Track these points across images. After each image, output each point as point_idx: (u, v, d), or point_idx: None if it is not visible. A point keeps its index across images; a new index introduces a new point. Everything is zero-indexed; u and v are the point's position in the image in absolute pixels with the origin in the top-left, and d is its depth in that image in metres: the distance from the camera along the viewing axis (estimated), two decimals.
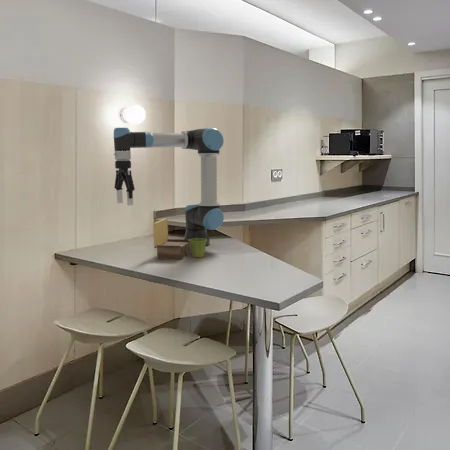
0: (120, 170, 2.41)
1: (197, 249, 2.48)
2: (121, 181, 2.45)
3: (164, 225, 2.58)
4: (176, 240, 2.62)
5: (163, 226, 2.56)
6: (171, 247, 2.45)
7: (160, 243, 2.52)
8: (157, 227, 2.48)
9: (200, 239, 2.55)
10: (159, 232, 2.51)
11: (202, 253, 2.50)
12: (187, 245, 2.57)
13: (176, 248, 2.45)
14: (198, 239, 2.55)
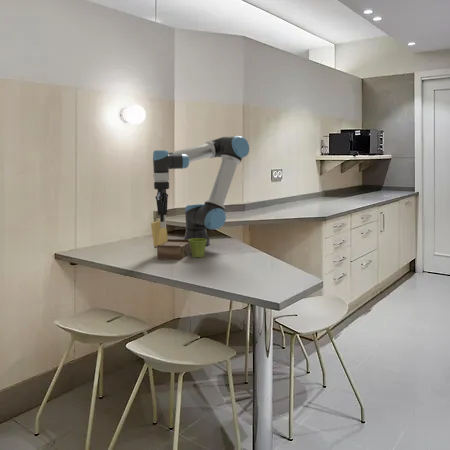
0: None
1: (197, 249, 2.48)
2: None
3: None
4: (176, 240, 2.62)
5: None
6: (171, 247, 2.45)
7: (160, 243, 2.52)
8: (155, 227, 2.48)
9: (200, 239, 2.55)
10: (158, 232, 2.51)
11: (202, 253, 2.50)
12: (187, 245, 2.57)
13: (176, 248, 2.45)
14: (198, 239, 2.55)
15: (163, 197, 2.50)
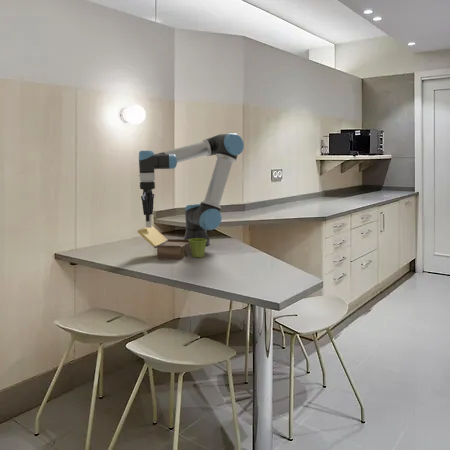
0: None
1: (197, 249, 2.48)
2: None
3: (151, 229, 2.59)
4: (176, 240, 2.62)
5: (151, 230, 2.58)
6: (171, 247, 2.45)
7: (159, 243, 2.52)
8: (143, 232, 2.49)
9: (200, 239, 2.55)
10: (150, 235, 2.52)
11: (202, 253, 2.50)
12: (187, 245, 2.57)
13: (176, 248, 2.45)
14: (198, 239, 2.55)
15: (149, 197, 2.51)
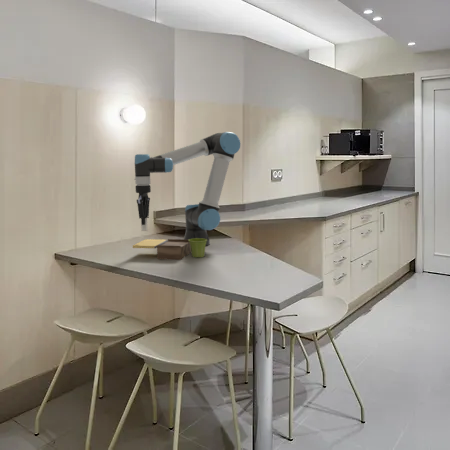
0: None
1: (197, 249, 2.48)
2: (144, 206, 2.55)
3: (146, 241, 2.61)
4: (176, 240, 2.62)
5: (146, 241, 2.60)
6: (171, 247, 2.45)
7: (157, 243, 2.53)
8: (138, 244, 2.51)
9: (200, 239, 2.55)
10: (146, 243, 2.53)
11: (202, 253, 2.50)
12: (187, 245, 2.57)
13: (176, 248, 2.45)
14: (198, 239, 2.55)
15: (144, 200, 2.52)
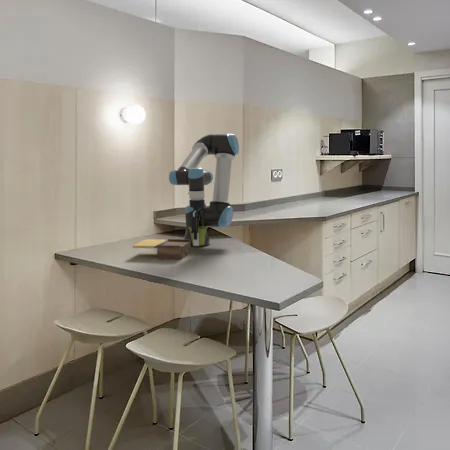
0: None
1: None
2: (199, 219, 2.53)
3: (146, 241, 2.61)
4: (176, 240, 2.62)
5: (146, 241, 2.60)
6: (171, 247, 2.45)
7: (157, 243, 2.53)
8: (138, 244, 2.51)
9: (200, 227, 2.55)
10: (146, 243, 2.53)
11: (202, 241, 2.50)
12: (187, 245, 2.57)
13: (176, 248, 2.45)
14: (198, 227, 2.55)
15: (198, 215, 2.47)
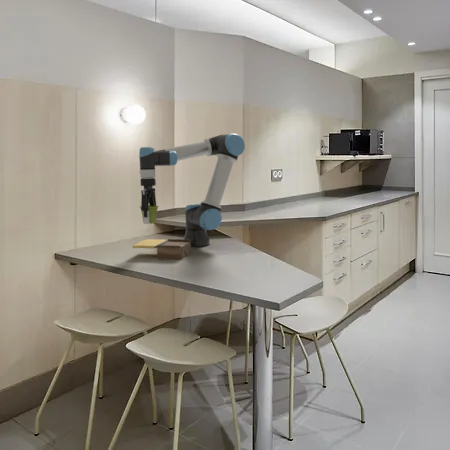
0: None
1: None
2: (150, 199, 2.56)
3: (146, 241, 2.61)
4: (176, 240, 2.62)
5: (146, 241, 2.60)
6: (171, 247, 2.45)
7: (157, 243, 2.53)
8: (138, 244, 2.51)
9: (152, 206, 2.58)
10: (146, 243, 2.53)
11: (153, 219, 2.53)
12: (187, 245, 2.57)
13: (176, 248, 2.45)
14: (150, 206, 2.58)
15: (149, 193, 2.50)
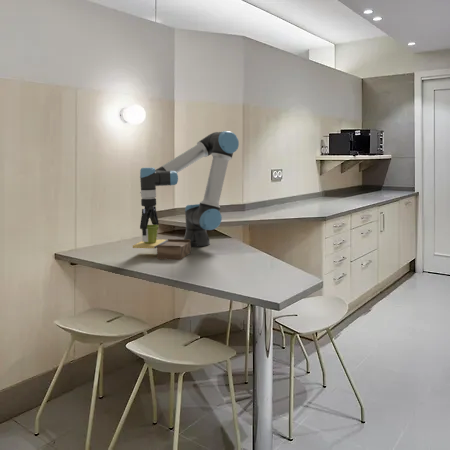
0: None
1: (148, 235, 2.53)
2: (152, 217, 2.59)
3: None
4: (176, 240, 2.62)
5: None
6: (171, 247, 2.45)
7: (157, 243, 2.53)
8: (138, 244, 2.51)
9: (152, 225, 2.60)
10: (146, 243, 2.53)
11: (153, 239, 2.54)
12: (187, 245, 2.57)
13: (176, 248, 2.45)
14: (151, 225, 2.60)
15: (149, 212, 2.51)
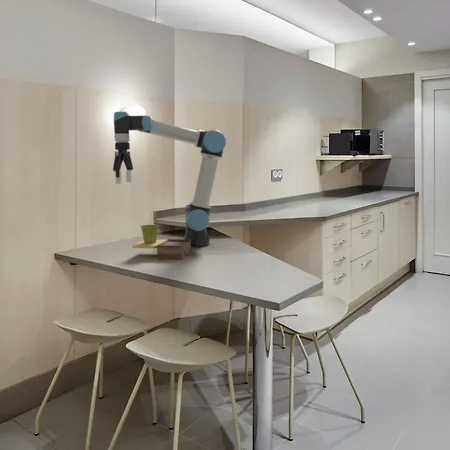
0: None
1: (148, 235, 2.53)
2: (126, 162, 2.64)
3: None
4: (176, 240, 2.62)
5: None
6: (171, 247, 2.45)
7: (157, 243, 2.53)
8: (138, 244, 2.51)
9: (152, 225, 2.60)
10: (146, 243, 2.53)
11: (153, 239, 2.54)
12: (187, 245, 2.57)
13: (176, 248, 2.45)
14: (151, 225, 2.60)
15: (123, 156, 2.57)
